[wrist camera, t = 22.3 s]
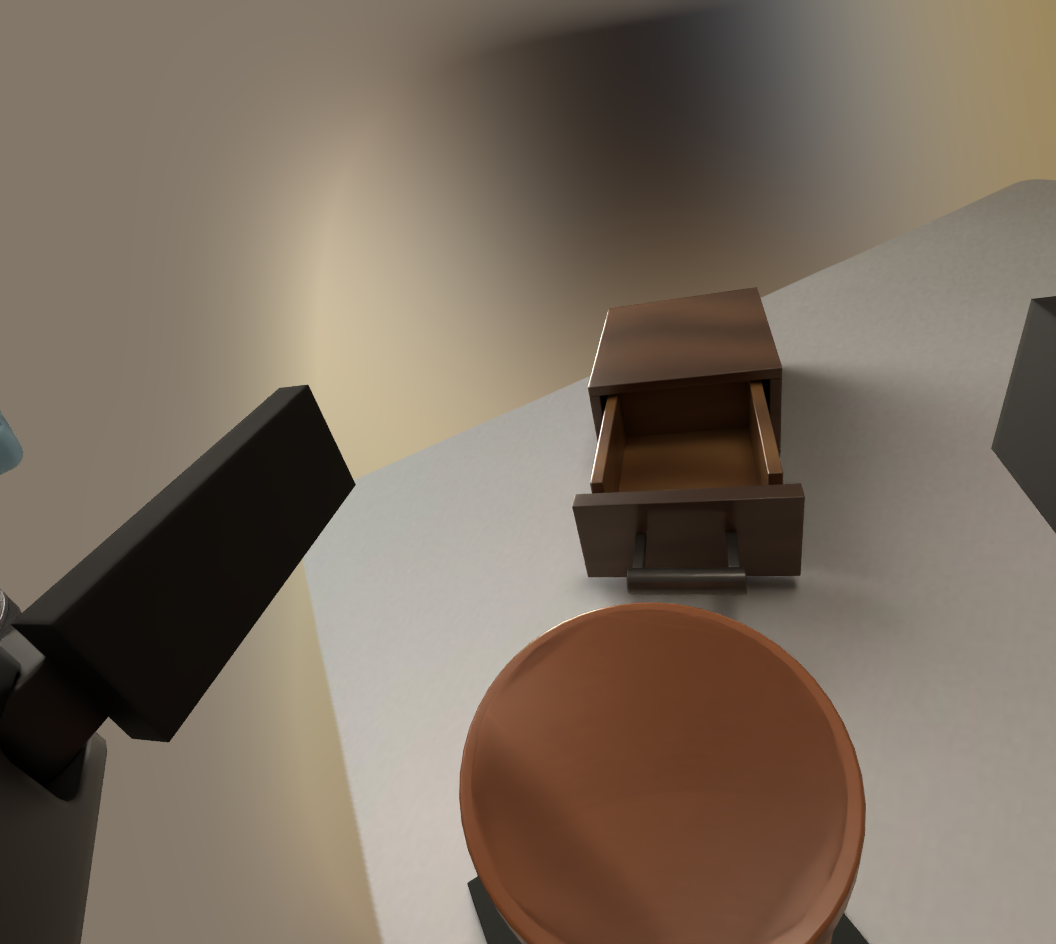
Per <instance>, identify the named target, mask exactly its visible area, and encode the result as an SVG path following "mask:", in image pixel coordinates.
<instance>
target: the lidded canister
mask: <svg viewBox="0 0 1056 944" xmlns="http://www.w3.org/2000/svg"><path fill="white" fill-rule="evenodd" d="M459 800H460V810H461V820H462V826H463V830H464V835H465V839H466V843H467V848H468V851H469V853H470V856H471V859H472V861H473V864H474V867H475V869H476V872H477V875H478V877H479V879H480V880H481V882H482V884H483V886H484V888H485V890H486V891H487V893H488V895H489V897H490V899H491V901H492V902H493V904H494V906H495V907H496V909H497V910H498V912H499V914H500V915H501V917H502V918H503V919H504V921H505V922H506V923H507V925H508V926H509V927H510V929H511V930H512V931H513V933H514V934H515V935H516V937H517V938H518V939H519V940H520V942H521V943H522V944H831V940H832V934H833V931H834V929H835V927H836V926H837V924H838V922H839V920H840V918H841V917H842V915H843V913H844V911H845V910H846V907H847V904H848V901H849V899H850V896H851V893H852V890H853V887H854V885H855V882H856V878H857V874H858V869H859V864H860V859H861V853H862V848H863V842H864V837H865V810H866V803H865V796H864V788H863V780H862V774H861V770H860V767H859V763H858V759H857V756H856V752H855V748H854V746H853V744H852V741H851V739H850V737H849V734H848V732H847V729H846V727H845V725H844V723H843V721H842V719H841V718H840V716H839V714H838V712H837V711H836V709H835V707H834V705H833V704H832V702H831V700H830V699H829V698H828V696H827V695H826V694H825V692H824V691H823V690H822V688H821V687H820V686H819V684H818V683H817V682H816V680H815V679H814V678H813V677H812V676H811V675H810V674H809V673H808V672H807V671H806V670H805V669H804V668H803V667H802V665H801V664H800V663H799V662H798V661H797V660H795V659H794V658H793V657H792V656H791V655H789V654H788V653H787V652H786V651H785V650H783V649H782V648H781V647H780V646H779V645H777V644H776V643H774V642H773V641H771V640H770V639H768V638H767V637H765V636H764V635H762V634H761V633H759V632H757V631H755V630H753V629H751V628H750V627H748V626H746V625H744V624H742V623H740V622H738V621H735V620H733V619H730V618H728V617H725V616H723V615H720V614H717V613H714V612H710V611H707V610H704V609H700V608H696V607H690V606H685V605H680V604H669V603H631V604H622V605H615V606H610V607H606V608H601V609H597V610H594V611H591V612H588V613H585V614H581V615H579V616H576V617H574V618H572V619H570V620H567V621H565V622H563V623H561V624H559V625H557V626H555V627H554V628H552V629H550V630H548V631H547V632H545V633H543V634H542V635H541V636H539V637H538V638H536V639H535V640H534V641H532V642H531V643H529V644H528V645H527V646H526V647H525V648H524V649H523V650H521V651H520V652H519V653H518V654H517V655H516V656H515V657H514V658H513V659H512V660H511V661H510V662H509V663H508V664H507V665H506V666H505V668H504V669H503V670H502V671H501V672H500V673H499V675H498V676H497V678H496V679H495V680H494V682H493V683H492V684H491V686H490V687H489V689H488V691H487V692H486V694H485V696H484V698H483V699H482V701H481V703H480V705H479V706H478V709H477V711H476V714H475V716H474V718H473V721H472V723H471V726H470V729H469V732H468V736H467V739H466V743H465V746H464V750H463V757H462V763H461V770H460V790H459Z"/></svg>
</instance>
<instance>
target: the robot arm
mask: <svg viewBox="0 0 1056 944" xmlns="http://www.w3.org/2000/svg"><path fill="white" fill-rule="evenodd" d="M991 449H992V450H993V451H994V453H995V454H996V455H997V457H998V458H999V459H1000V461H1001V462H1002V463H1003V465H1004V466H1005V467H1006V468H1007V470H1008V471H1009V472H1010V474H1011V475H1012V476H1013V478H1014V479H1015V480H1016V482H1017V483H1018V484H1019V486H1020V487H1021V488H1022V490H1023V491H1024V492H1025V493H1026V495H1027V496H1028V497H1029V499H1030V500H1031V501H1032V503H1033V504H1034V505H1035V507H1036V508H1037V509H1038V511H1039V512H1040V513H1041V515H1042V516H1043V517H1044V518H1045V520H1046V521H1047V522H1048V524H1049V525H1050V526H1051V528H1052V529H1053V530H1054V532H1055V533H1056V296H1053V297H1045V298H1036V299H1031V303H1030V306H1029V310H1028V314H1027V318H1026V321H1025V325H1024V329H1023V332H1022V336H1021V340H1020V344H1019V347H1018V351H1017V355H1016V358H1015V362H1014V366H1013V370H1012V373H1011V377H1010V381H1009V384H1008V388H1007V392H1006V396H1005V399H1004V403H1003V407H1002V410H1001V414H1000V418H999V422H998V425H997V429H996V433H995V436H994V440H993V444H992V448H991ZM22 457H23V450H22V447H21V445H20V443H19V441H18V439H17V437H16V436H15V434H14V432H13V430H12V429H11V427H10V426H9V424H8V422H7V421H6V419H5V418H4V416H3V415H2V413H1V411H0V475H1V474H3V473H5V472H7V471H9V470H11V469H13V468H15V467H16V466H17V465H18V464H19V463H20V462H21V460H22ZM355 485H356V484H355V482H354V480H353V478H352V476H351V474H350V472H349V470H348V468H347V465H346V463H345V461H344V459H343V457H342V455H341V453H340V451H339V449H338V446H337V444H336V442H335V441H334V438H333V436H332V434H331V432H330V430H329V428H328V425H327V423H326V421H325V419H324V417H323V415H322V413H321V411H320V409H319V406H318V404H317V402H316V400H315V398H314V396H313V394H312V392H311V390H310V387H309V386H308V385H302V386H293V387H284V388H279V389H278V390H276V391H275V392H274V393H273V394H272V395H271V396H270V397H268V398H267V399H266V400H265V401H264V402H263V403H262V404H261V405H260V406H258V407H257V408H256V409H255V410H254V411H253V412H252V413H250V414H249V415H248V416H247V417H246V418H245V419H243V420H242V421H241V422H240V423H239V424H238V425H237V426H235V427H234V428H233V429H232V430H231V431H230V432H228V433H227V434H226V435H225V436H224V437H223V438H222V439H220V440H219V441H218V442H217V443H216V444H215V445H214V446H213V447H211V448H210V449H209V450H208V451H207V452H206V453H204V454H203V455H202V456H201V457H200V458H199V459H198V460H197V461H195V462H194V463H193V464H192V465H191V466H190V467H188V468H187V469H186V470H185V471H184V472H183V473H182V474H181V475H179V476H178V477H177V478H176V479H175V480H174V481H172V482H171V483H170V484H169V485H168V486H167V487H166V488H164V489H163V490H162V491H161V492H160V493H159V494H158V495H157V496H155V497H154V498H153V499H152V500H151V501H150V502H148V503H147V504H146V505H145V506H144V507H143V508H142V509H140V511H138V512H137V513H136V514H135V515H134V516H132V517H131V518H130V519H129V520H128V521H127V522H126V523H124V524H123V525H122V526H121V527H120V528H119V529H118V530H116V531H115V532H114V533H113V534H112V535H111V536H110V537H108V538H107V539H106V540H105V541H104V542H103V543H102V544H100V545H99V546H98V547H97V548H96V549H95V550H94V551H92V552H91V553H90V554H89V555H88V556H87V557H86V558H84V559H83V560H82V561H81V562H80V563H79V564H78V565H76V566H75V567H74V568H73V569H72V570H71V571H70V572H68V574H66V575H65V576H64V577H63V578H62V579H60V581H58V582H57V583H56V584H55V585H54V586H52V587H51V588H50V589H49V590H48V591H47V592H46V593H44V594H43V595H42V596H41V597H40V598H39V599H38V600H37V601H35V602H34V603H33V604H32V605H31V606H30V607H29V608H27V609H26V610H25V611H24V612H23V613H22V614H20V615H19V616H18V617H17V618H16V619H15V620H14V621H12V622H11V623H10V624H11V625H12V626H13V627H14V628H15V629H13V630H12V631H11V632H10V633H9V634H8V635H7V636H5V637H4V638H3V639H2V640H1V641H0V944H80V942H81V936H82V929H83V922H84V914H85V907H86V900H87V893H88V885H89V879H90V871H91V863H92V856H93V849H94V843H95V834H96V828H97V821H98V814H99V806H100V799H101V792H102V785H103V778H104V770H105V763H106V756H107V746H106V740H104V739H103V738H102V737H101V736H100V735H99V734H98V733H97V732H96V731H97V729H98V728H99V727H100V726H101V725H102V723H103V722H104V721H105V720H106V719H107V717H110V718H111V719H112V720H113V721H114V722H115V723H116V724H117V725H118V726H119V727H120V728H121V729H122V730H123V731H124V732H125V733H126V734H127V735H129V736H130V737H131V738H132V739H141V740H151V741H160V742H170V740H171V739H172V738H173V736H174V735H175V733H176V732H177V731H178V729H179V728H180V727H181V725H182V724H183V722H184V721H185V720H186V718H187V717H188V716H189V714H190V713H191V711H192V710H193V709H194V707H195V706H196V705H197V703H198V702H199V700H200V699H201V697H202V696H203V695H204V693H205V692H206V691H207V689H208V688H209V687H210V685H211V684H212V682H213V681H214V680H215V678H216V677H217V676H218V674H219V673H220V671H221V670H222V669H223V667H224V666H225V664H226V663H227V662H228V660H229V659H230V657H231V656H232V655H233V653H234V652H235V651H236V649H237V648H238V646H239V645H240V644H241V642H242V641H243V640H244V638H245V637H246V635H247V634H248V633H249V631H250V630H251V629H252V627H253V626H254V624H255V623H256V622H257V620H258V619H259V618H260V616H261V615H262V613H263V612H264V611H265V609H266V608H267V607H268V605H269V604H270V602H271V601H272V600H273V598H274V597H275V595H276V594H277V593H278V591H279V590H280V588H281V587H282V586H283V584H284V583H285V582H286V580H287V579H288V578H289V576H290V575H291V573H292V572H293V571H294V569H295V568H296V566H297V565H298V564H299V562H300V561H301V560H302V558H303V557H304V555H305V554H306V553H307V551H308V550H309V549H310V547H311V546H312V544H313V543H314V542H315V540H316V539H317V538H318V536H319V535H320V533H321V532H322V531H323V529H324V528H325V526H326V525H327V524H328V522H329V521H330V520H331V518H332V517H333V515H334V514H335V513H336V511H337V510H338V509H339V507H340V506H341V504H342V503H343V502H344V500H345V499H346V497H347V496H348V495H349V493H350V492H351V491H352V489H353V488H354V486H355Z"/></svg>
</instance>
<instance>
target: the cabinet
mask: <svg viewBox="0 0 1056 944" xmlns="http://www.w3.org/2000/svg"><path fill="white" fill-rule="evenodd" d="M752 380H761V382H762V386H763V390H764V394H765V399H766V403H767V407H768V411H769V415H770V419H771V424H772V428H773V432H774V436H775V440H776V444H777V448H778V453H779V457H780V442H781V400H782V365H781V362H780V359H779V356H778V353H777V349H776V346H775V343H774V340H773V337H772V334H771V330H770V327H769V324H768V321H767V318H766V314H765V311H764V308H763V305H762V302H761V299H760V296H759V292H758V289H757V287H755V288H748V289H741V290H734V291H727V292H720V293H713V294H706V295H699V296H692V297H685V298H678V299H671V300H664V301H657V302H650V303H643V304H636V305H629V306H622V307H615V308H609V310H608V314H607V317H606V321H605V325H604V329H603V333H602V336H601V340H600V344H599V348H598V352H597V355H596V359H595V363H594V367H593V371H592V374H591V378H590V382H589V386H588V391H589V396H590V402H591V408H592V413H593V419H594V424H595V430H596V435H597V441H598V442H599V437H600V432H601V427H602V422H603V417H604V412H605V407H606V402H607V397H608V395H610V394H620V393H630V392H641V391H651V390H661V389H671V388H681V387H691V386H701V385H712V384H722V383H732V382H742V381H752Z"/></svg>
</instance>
